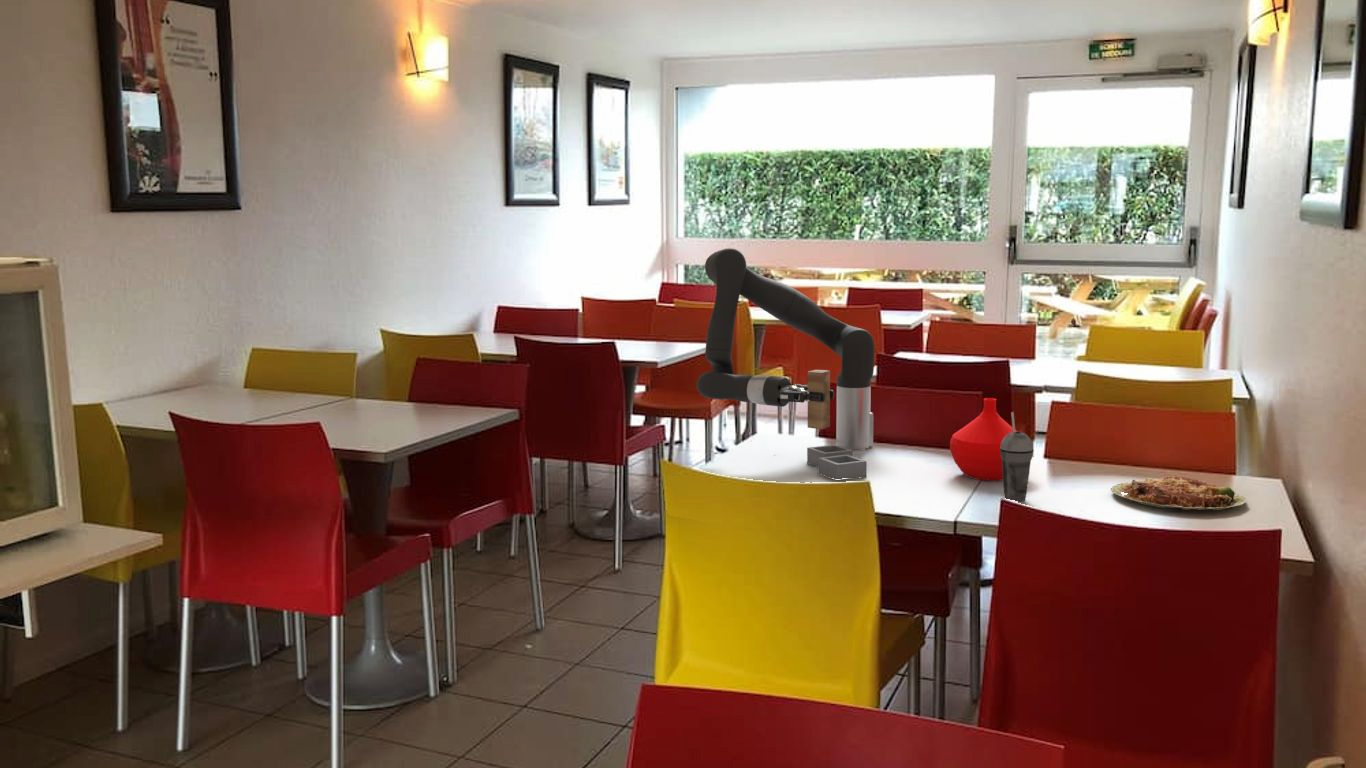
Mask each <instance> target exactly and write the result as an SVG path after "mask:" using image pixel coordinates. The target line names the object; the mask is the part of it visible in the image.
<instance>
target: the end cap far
mask: <svg viewBox="0 0 1366 768" xmlns="http://www.w3.org/2000/svg"><path fill="white" fill-rule="evenodd" d="M806 453H807V454H806V456H807V457H806V462H807V464H809V463H810V465H813V466H815V467H817V468H819V458H823V457H831V456H840V455H850V456H853V457H854V450H850V449H847V448H844V447H841V446H838V445H836V444H829V445H828V444H827V445H826V444H825V445H817V446H810V447H809V446H808V447H806Z"/></svg>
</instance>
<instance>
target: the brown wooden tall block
mask: <svg viewBox="0 0 1366 768" xmlns="http://www.w3.org/2000/svg"><path fill="white" fill-rule="evenodd" d="M807 384H808V391H810V393H811V392H821V393H825V401H824V402H817V401H811V400H810V401H809V402H807V428H808V429H816V430H824V429H827V428H830V426H831V423H830V422H831V420H830V419H831V418H830V417H831V415H830V414H831V405H830V404H831V403H830V402H831V399H830V390H831V370H827V369H814V370H808V371H807Z"/></svg>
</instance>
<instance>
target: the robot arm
mask: <svg viewBox="0 0 1366 768" xmlns="http://www.w3.org/2000/svg"><path fill="white" fill-rule="evenodd" d="M704 270H705V274H706V276H707V278H708V279H709V280H710V281H711V282H712V283H713V284H715V285H716V288H715V289H716V292H715V300H714V306H713V310H712V311H711V312H712V313H711V316H710V319H709V323H708V327H707V331H706V340H705V341H706V342H705V349H704V350H705V353H704V357H705V360H706V361H707V362H709V363H710V365H711V371H707V372H704V373H702V374H701V375H700V376H699V377H698V378H697V382H696V389H697V391H698V393H699V394H700V395H701V396H702V397H703V398H707V399H711V400H712V399H713V400H732V401H733V400H734V401H736V402H743V403H751V404H752V403H753V404H756V405H759V406H760V405H762V406H772V407H781V408H782V407H783V408H784V407H785V406H787V405H789V403H801V404H803V403H805V402H807V403H808V402H809V401H810V400H811V401H817V402H824V401H825V393H821V392H811V393H810V391H808V383H806V384H803V385H802V384H800V383H794V384H793V385H792V383H791V381H790V379H789V378H788V377H786V376H776V375H765V374H764V375H761V374H760V375H752V374H735V373H734V365H733V358H732V355H733V345H734V333H735V325H736V316H737V312H738V311H737V310H738V305H739V301H740V300H739V299H740V296H741V297H743V298H745V299H746V300H748V301H749V302H751V303H752V304H754V305H756V306H757V307H758V308H759V309H761V310H763V311H765V312H766V313H768V314H769V315H771V316H773V317H774V318H776V320H779V321H781V322H782V323H784V324H786V325H787V326H790V327H791V328H793V329H795V330H797V331H799V332H801V333H804V334H806V335H808V336H810V337H812V338H814V339H816V340H818V341H819V342H821V343H822V344H824V345H825V346H826V347H828V348H829V349H830V350H831V351H833V352H834V353H835V354H836V355H838V356H839V357H841V370H840V373H838V374H837V376H836V423H835V425H836V433H835V435H836V436H835V442H836V443H835V445H838V446H841V447H844V448H847V449H850V450H853V451H860V449H862V450H866V449H865V448H867V449H869V448H868V447H869V446H872V445H873V446H874V413H873V412H871V399H872V398H871V389H872V388H871V386H872V385H871V384H872V383H871V382H872V379H873V375H874V371H875V367H874V366H875V352H876V351H875V341H874V337H873V336H872V334H871V332H869V331H868V330H866V329H863V328H860V327H857V326H852V325H850V324H847V323H844V322H842V321H840V320H839V319H837V318H834V317H832V315H829V314H828V313H826V312H825V311H824V310H823V309H822V308H821V307H820V306H819V305H818V304H817V303H815V301H813V300H812V299H811V298H810V297H808V296H807V295H805V294H804V293H802V292H801V291H799V290H797V289H795V288H794V287H792V286H790V285H788V284H786V283H783V282H781V281H777V280H775V279H772V278H769V277H767V276H766V277H765V276H763V275H761V274H758V273H757V272H754V271H753V270H751V269H750V268H749V267H747V261H746V257H745V256H744V254H743V252H741V251H740V250H738V249H736V248H734V247H728V248H724V249H719V250H717V251H714V252H713V253H711V254H710V255H709V256H708V257H707V258H706V260H705V263H704ZM834 399H835V391H834V390H833V389H830V400H834Z"/></svg>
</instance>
